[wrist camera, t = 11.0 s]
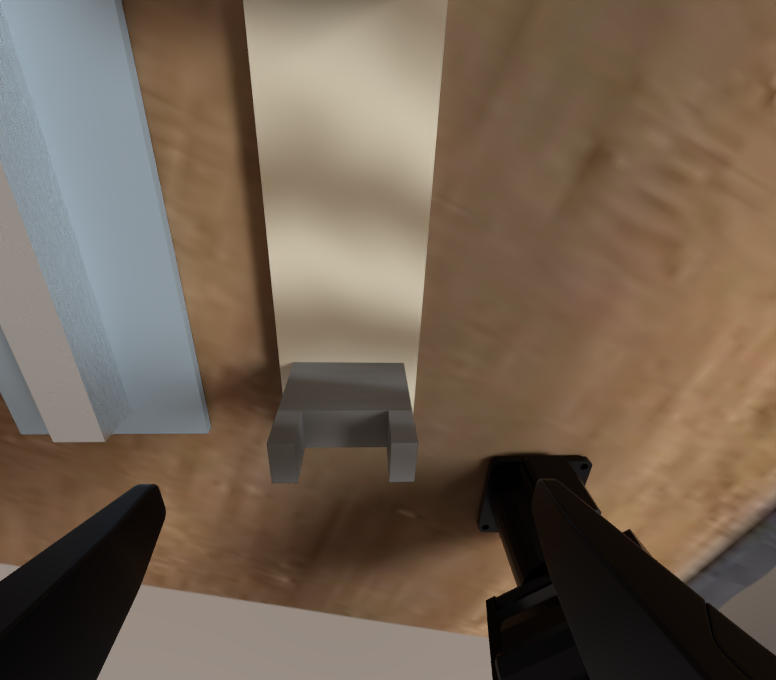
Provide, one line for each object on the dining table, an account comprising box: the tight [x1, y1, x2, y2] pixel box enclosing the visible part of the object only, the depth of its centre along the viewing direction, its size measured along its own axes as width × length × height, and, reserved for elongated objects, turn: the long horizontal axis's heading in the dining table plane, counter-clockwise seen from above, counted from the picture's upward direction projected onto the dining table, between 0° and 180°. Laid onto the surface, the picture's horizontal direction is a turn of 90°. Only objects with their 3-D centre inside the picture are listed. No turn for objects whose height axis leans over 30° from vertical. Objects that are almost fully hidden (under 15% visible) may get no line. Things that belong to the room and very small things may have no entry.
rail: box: [0, 2, 131, 442], centre depth 15 cm, size 22×2×2 cm, turn 178°
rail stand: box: [243, 0, 448, 483], centre depth 14 cm, size 24×7×7 cm, turn 178°
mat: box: [0, 0, 211, 434], centre depth 16 cm, size 25×10×1 cm, turn 178°
